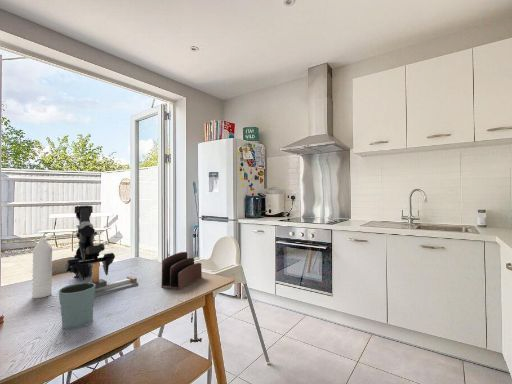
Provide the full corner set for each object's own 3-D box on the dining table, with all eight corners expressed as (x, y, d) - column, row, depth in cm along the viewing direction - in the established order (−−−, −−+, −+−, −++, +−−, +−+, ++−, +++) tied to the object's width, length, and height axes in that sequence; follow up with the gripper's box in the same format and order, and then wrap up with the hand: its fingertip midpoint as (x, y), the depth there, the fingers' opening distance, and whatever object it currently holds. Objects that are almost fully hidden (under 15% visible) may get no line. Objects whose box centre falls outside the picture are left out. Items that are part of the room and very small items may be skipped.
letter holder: (161, 288, 121) (161, 257, 121) (186, 275, 140) (186, 249, 140) (179, 290, 118) (179, 259, 118) (202, 277, 136) (202, 251, 137)
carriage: (101, 283, 119) (101, 260, 120) (106, 285, 115) (106, 263, 116) (84, 287, 114) (84, 263, 114) (88, 290, 110) (89, 266, 110)
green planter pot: (101, 315, 92) (101, 282, 92) (83, 330, 82) (83, 292, 82) (72, 316, 92) (72, 282, 92) (50, 331, 82) (50, 293, 82)
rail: (129, 281, 130) (129, 275, 131) (138, 285, 125) (138, 278, 125) (68, 296, 111) (68, 289, 111) (74, 301, 105) (74, 294, 105)
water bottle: (46, 297, 109) (47, 238, 110) (28, 299, 108) (29, 239, 108) (57, 290, 118) (58, 235, 118) (41, 291, 116) (41, 236, 117)
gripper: (67, 241, 111) (75, 271, 104) (113, 236, 125) (123, 262, 118) (62, 256, 116) (69, 286, 109) (107, 250, 130) (116, 276, 123)
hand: (95, 277), depth 115 cm, fingers open, 9 cm apart
